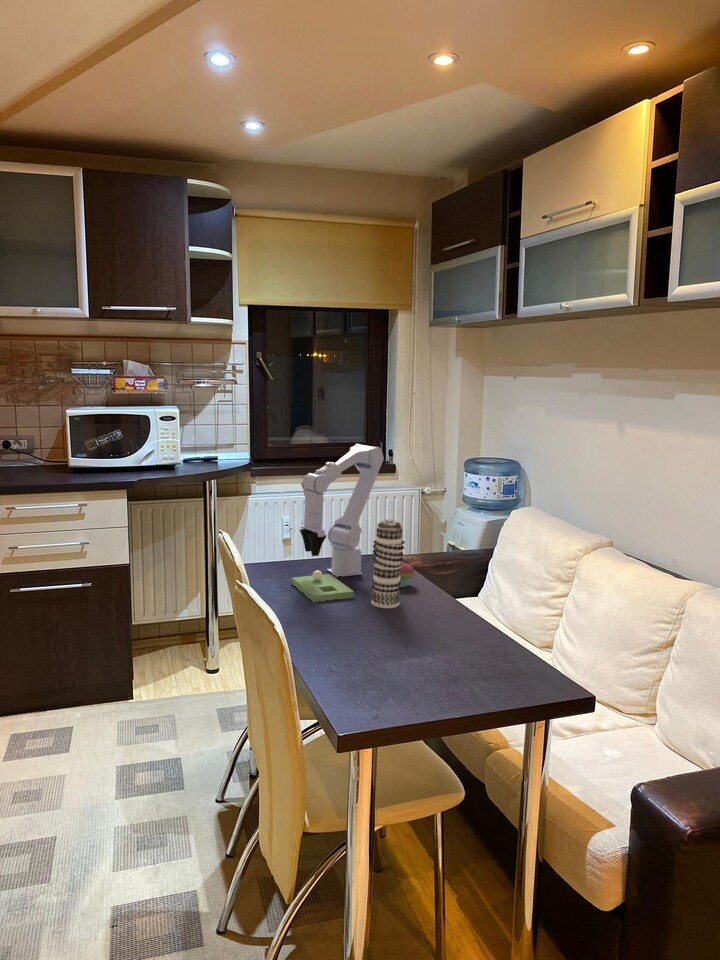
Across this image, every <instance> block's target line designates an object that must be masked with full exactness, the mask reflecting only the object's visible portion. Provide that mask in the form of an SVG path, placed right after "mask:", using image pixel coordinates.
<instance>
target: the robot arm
mask: <svg viewBox="0 0 720 960" xmlns="http://www.w3.org/2000/svg"><path fill="white" fill-rule="evenodd" d="M384 459H385V458H384V454H383V450H382V448H381V447H379V446H370V445H364V444H361V443H355V445H353V446H351V447H350V448H349V451H348V452H347V453H345V455H343V456H342V457H340V458H339V459H338V460H337V461H336V462H333V461H327V462H325V465H324V466H322V467H321V468H319V469H316V470H315V472H313V473H311V472H309V473H307V474H306V475H305V476H303V479H302V482H301V484H300V485H301V488H302V490H303V495H304V517H303V519H302V520H301V525H300V529H299V533H300V535H301V537H302V540H303V546H304V550H305V552H310V553H311V556H312V557H318V556H320V553H321V550H322V547H323V544H324V542H325V540H326V538H327V541H329V543H330V546H331V549H332V552H331V567H330V568H326V571H327V570H328V572H329V571H330V572H331V573H332V574H331V573H330V572H329V573H330V574H331V575H332V576H334V575H335V576H334V577H335V578H338V577H339V576H341V577H349V576H360V575H363V574H362V572H361V571H362V551H361V549H360V546H358V545H359V543H360V538H361V533H362V527H361V526H360V524H359V521H360V518H361V515H362V514H363V511H364V510H365V509H364V508H365V507H366V504H367V502H368V499H369V497H370V494H371V491H372V490H373V487H374V484H375V483H376V480H377V477H378V474H379V472H380V469H381V468H382V464H383V462H384ZM352 466H355V468H356V469H357V471H358V472H359V477H358V479H357V482H356V484H355V487H354V489H353V492H352V494H351V496H350V498H349V501H348V503H347V506H346V509H345V510H344V513H343V515H342V516H341V517H340V518H339V517H338V518H337V519H336V520H335V521H334V522H333V524H332V526H331V527H330V528H329V529H328V532H327V534H326V530H325V529H324V525H323V517H324V515H323V514H324V493H326V492H327V490H328V487H329V486H330V485H331V484H332V483H333V482H335V481H336V480H339V478H340V477H341V475H342V472H343V471H346V470H347V469H348V468H350V467H352Z"/></svg>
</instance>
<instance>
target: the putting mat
mask: <svg viewBox="0 0 720 960" xmlns="http://www.w3.org/2000/svg"><path fill="white" fill-rule="evenodd" d="M322 575H323V576H322V579H321V580H319V581H316V580H314V579H313V577H312V575H307V576H305V575H304V576H297V577H291V585H292V586H294V585H295V586H296V587H297V588H298V589H297V588H296V587H295V586H294V587H295V588H296V589H297V590H299V591H300V593H302V592H303V593H304V594H305V597H307V598H308V600H310V599H311V600H312V601H311V600H310V601H311V602H313V603H320V602H319V601H321V602H327V601H326V600H329V601H335V600H334V599H338V600H344V599H353V598H354V590H353V589H351V588H350V587H349V586H347V585H346V584H344V583H343V582H341V581H340V580H339V579H337V577H336V576H334V575H333V574H331V573H327V574H322ZM303 593H302V594H303Z"/></svg>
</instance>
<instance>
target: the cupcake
mask: <svg viewBox="0 0 720 960" xmlns="http://www.w3.org/2000/svg"><path fill="white" fill-rule="evenodd" d="M400 563H401V565H402V567H401V568H400V582H401V584H400V587H401V588H406V587H408V585H409V582H410V580H411V578H412V577H414V576H415V571H416V570H415V569H414V567H413V566H412V565H411V564H409V563H405V562H402V561H400Z"/></svg>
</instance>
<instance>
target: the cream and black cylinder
mask: <svg viewBox="0 0 720 960" xmlns="http://www.w3.org/2000/svg"><path fill="white" fill-rule="evenodd" d="M375 528H376V535H375V540H373V545H372V547H373V550H372V553H373V557H372V560H373V562H372V566H374V573H373V577H372V578H373V579H372V580H371V582H372V585H371V588H372V590H371V597H370V599H371V602H370V603H371V605H372V606H374V607H377V608H381V609H394V608H398V607H399V606H400V604H401V603H400V600H401V598H400V596H401V593H400V592H401V588H402V587H400V584H401V582H400V568H401V567H402V565H401V563H402V562H403V560H404V558H403V555H404V553H403V551H402V550H404V549H405V546H404V544H405V543H406V542H405V540H403V539H404V538H403V531H404V530H403V529H404V526H402V524H401V523H400V522H399V521H397V520H396V519H395V520H394V519H382V520H380V521H379V522H378V524H376V525H375ZM400 561H401V563H400Z"/></svg>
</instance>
